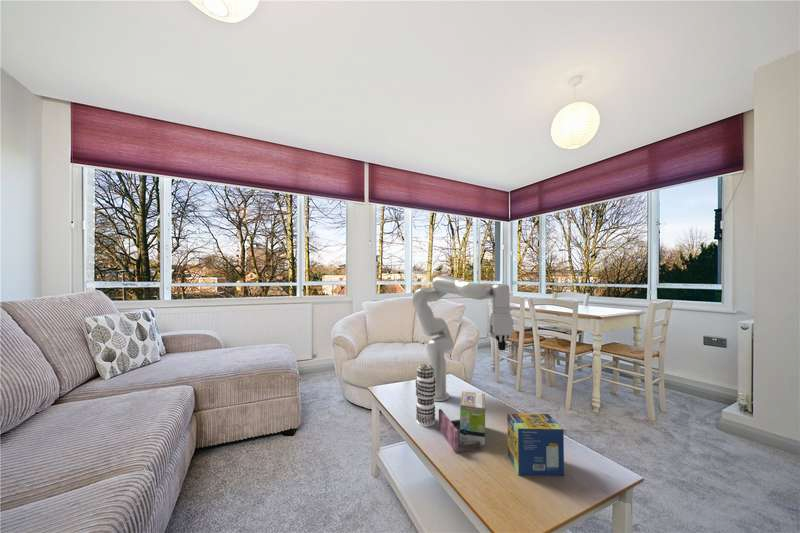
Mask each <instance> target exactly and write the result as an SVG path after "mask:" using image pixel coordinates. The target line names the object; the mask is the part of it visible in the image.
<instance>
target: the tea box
mask: <svg viewBox="0 0 800 533" xmlns="http://www.w3.org/2000/svg"><path fill="white" fill-rule="evenodd" d="M485 396H486V395H485V393H481V392H473V391H472V392H471V391H465V390H464V391H463V390H462V392H461V398H460V406H459V412H460V413H459V420H460V427H459V442H460V443H462V444H463V443H471V442H478V441H479V442H480V446H485V445H486V397H485Z"/></svg>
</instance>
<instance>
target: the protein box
mask: <svg viewBox="0 0 800 533" xmlns="http://www.w3.org/2000/svg"><path fill="white" fill-rule="evenodd" d="M506 416H507V420H506V421H507V422H506V424H507V457H508V459H509V461H510V462H511V464H512V466H513V468H514V470H515V472H516V474H517V476H533V477H534V476H537V477H538V476H541V477H543V476H544V477H545V476H546V477H565V451H564V449H565V443H564V440H565V439H564V438H565V437H564V428H563V427H561V425H560V424H559V423H558V422H557V421H556V420H555V419H554V418H553V417H552V416H551V415H550V414H549V413H507V415H506Z"/></svg>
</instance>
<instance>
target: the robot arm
mask: <svg viewBox="0 0 800 533" xmlns="http://www.w3.org/2000/svg"><path fill="white" fill-rule="evenodd" d="M431 284H432V286H425V287H424V286H423V287H420V288H418V289H417V290H415V291H414V293H413V295H412V306H413V307H414V309H415V310H414V311H415V312H416V314H417V315H416V316H417V317H418V321H419V324H420V327H421V329H422V331H423V334H424V335H425V336H426V337H434V336H435V337H434V338H432V339H430V340H429V341H428V342H427V345H426V353H427V358H428V361H427V362H428V365H431V366H432V368H434V377H435V380H434V381H435V382H436V383H435V384H433V385H435V388H434V389H435V392H434V393H435V397H434V402H444V401H447V400H449V398H450V393H449V392H447V362H446V358H445V355H446V354H447V353H450V352H451V351H452V350H453V349H454V340H453V337H452V334H451V332H450V329H449V326H448V324H447V323H446V321H445V320H444V319H443V318H442V317H435V314H434V313H433V310H432V308H431V307H430V306H429V304H428V303H432V302H433V303H434V302H437V301H439V300H441V299H442V298H443V297H445V296H446V295H447V294H453V295H457V296H461V297H464V298H468V299H472V300H479V301H483V300H488V299H492V313H490V319H489V328H488V330H489V333H490V338H492V339H495V340H496V341H497V349H498V350H499V351H502V352H503V351H506V348H507V347H506V342H507V341H508V339H509V338H511V337H512V338H513V333H514V325H513V323H514V322H513V316H512V314H511V311H513V308H512V307H510V302H511V299H510V296H511V295H510V294H511V293H510V286H509V285H508V284H503V283H498V284H497V283H496V284H494V283H474V282H469V281H464V279H463V278H459V277H453V276H450V275H437V276H435V277H434V278H433V280H432V281H431Z"/></svg>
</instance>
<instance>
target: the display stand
mask: <svg viewBox="0 0 800 533" xmlns="http://www.w3.org/2000/svg"><path fill="white" fill-rule="evenodd" d="M457 428H460V419H455V420H454V419H453V420H450V419H449V417H448V416H447V415H446V413H445V412H444V410H442V409H441V408H439V409H438V429H439V431H440V432H441V434H442V435H443V437H444V438H445V440H446V441H447V443H448V444H449V446H450V447H451V449H452V451H453V452H454V453H455V454H458V453H459V454H460V453H464V452H465V453H466V452H472V451H480V450H481V445H480V442H479V441H478V442H471V443H463V442H462V443H459V431H458V429H457Z"/></svg>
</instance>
